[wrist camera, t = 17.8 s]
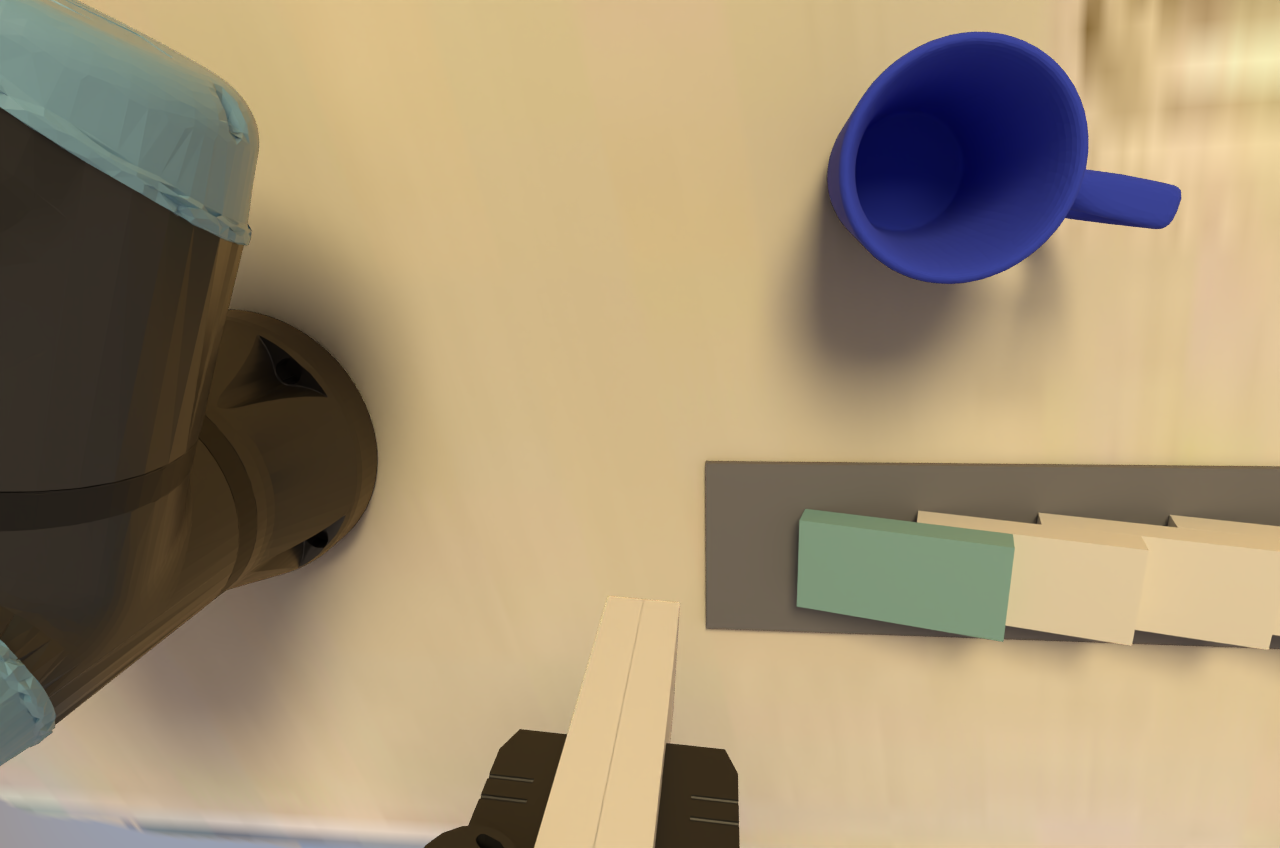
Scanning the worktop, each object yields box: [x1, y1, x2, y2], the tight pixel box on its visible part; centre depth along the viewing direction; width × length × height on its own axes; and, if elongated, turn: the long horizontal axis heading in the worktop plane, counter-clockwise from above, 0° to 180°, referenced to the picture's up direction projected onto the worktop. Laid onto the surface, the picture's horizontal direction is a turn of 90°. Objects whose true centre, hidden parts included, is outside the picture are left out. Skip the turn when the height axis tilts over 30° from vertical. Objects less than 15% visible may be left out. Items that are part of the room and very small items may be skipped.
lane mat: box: [706, 461, 1280, 649], centre depth 40 cm, size 34×10×1 cm, turn 92°
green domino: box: [797, 509, 1015, 642], centre depth 38 cm, size 2×5×10 cm
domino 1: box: [917, 511, 1149, 646], centre depth 37 cm, size 2×5×10 cm
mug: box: [827, 32, 1181, 284], centre depth 30 cm, size 8×12×10 cm
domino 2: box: [1037, 513, 1280, 650], centre depth 37 cm, size 2×5×10 cm
